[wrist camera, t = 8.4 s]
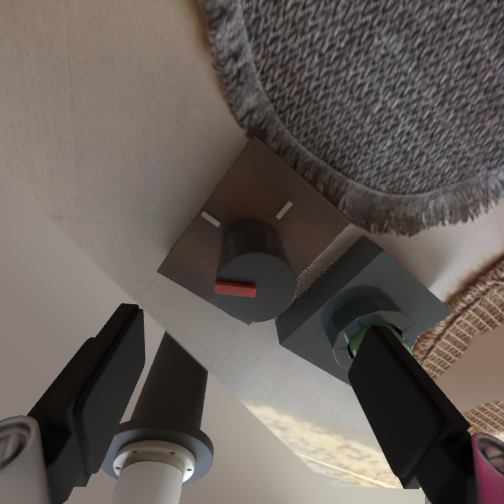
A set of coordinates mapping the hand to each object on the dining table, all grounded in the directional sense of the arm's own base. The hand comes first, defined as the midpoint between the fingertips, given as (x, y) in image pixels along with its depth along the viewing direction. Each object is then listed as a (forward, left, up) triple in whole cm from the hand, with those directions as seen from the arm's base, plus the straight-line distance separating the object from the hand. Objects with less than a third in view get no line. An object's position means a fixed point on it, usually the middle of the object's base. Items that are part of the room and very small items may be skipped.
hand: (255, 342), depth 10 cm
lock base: (+1, 0, -12) cm, 12 cm away
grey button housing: (+1, -13, -12) cm, 17 cm away
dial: (+1, 0, -9) cm, 9 cm away
